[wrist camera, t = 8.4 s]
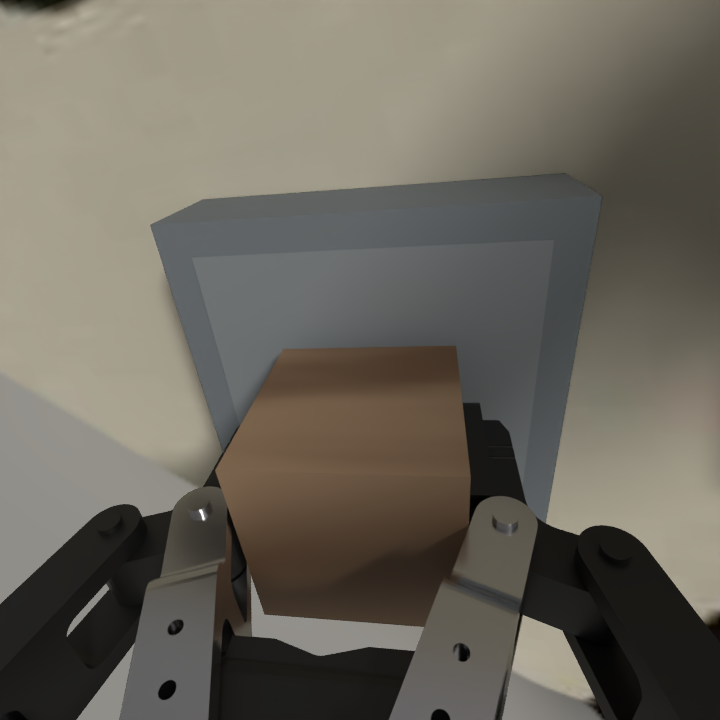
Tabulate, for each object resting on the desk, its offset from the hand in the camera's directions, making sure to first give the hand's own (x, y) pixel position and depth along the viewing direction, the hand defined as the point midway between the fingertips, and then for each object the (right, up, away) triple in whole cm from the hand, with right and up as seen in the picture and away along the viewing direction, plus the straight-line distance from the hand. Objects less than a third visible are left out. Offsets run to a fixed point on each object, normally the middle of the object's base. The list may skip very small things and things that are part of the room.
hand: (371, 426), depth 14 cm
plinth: (+1, +3, +4) cm, 5 cm away
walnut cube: (0, 0, 0) cm, 0 cm away
